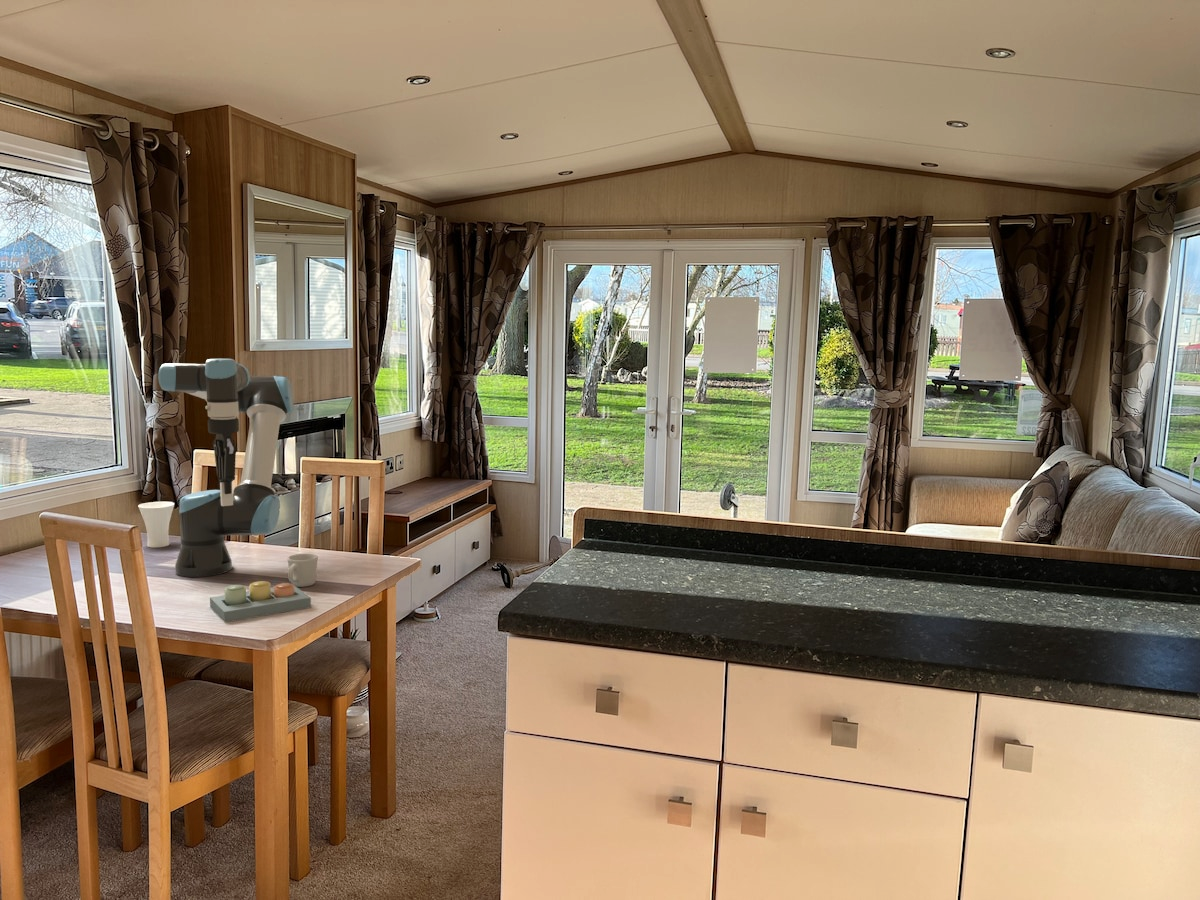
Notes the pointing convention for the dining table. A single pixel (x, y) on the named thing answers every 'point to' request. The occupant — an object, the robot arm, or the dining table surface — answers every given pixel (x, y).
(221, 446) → the robot arm
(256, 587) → the button ochre
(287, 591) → the button terracotta
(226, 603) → the button sage
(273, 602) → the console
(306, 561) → the cup
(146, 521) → the cup
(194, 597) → the dining table surface
